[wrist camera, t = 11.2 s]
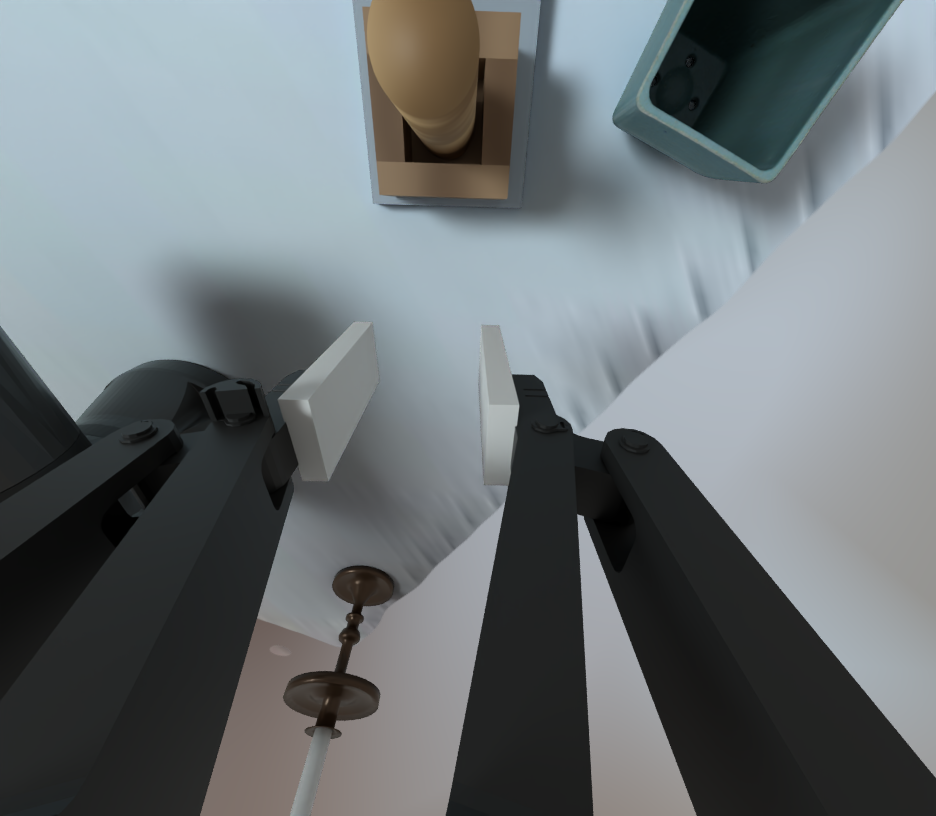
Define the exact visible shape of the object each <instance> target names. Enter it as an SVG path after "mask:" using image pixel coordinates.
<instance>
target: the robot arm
mask: <svg viewBox="0 0 936 816" xmlns="http://www.w3.org/2000/svg"><path fill="white" fill-rule="evenodd" d="M379 381H380V379H379V370H378V362H377V354H376V346H375V337H374V329H373V322H353V323H352V324H351V325H350V327H349V328H348V329H347V330H346V331H345V332H344V333H343V334H342V335H341V336H340V337H339V338H338V339H337V340H336V341H335V342H334V343H333V344H332V345H331V346H330V347H329V348H328V349H327V350H326V351H325V352H324V353H323V354H322V355H321V356H320V357H319V358H318V359H317V360H316V361H315V362H314V363H313V364H312V365H311V366H310V367H309V368H308V369H307V370H299V371H297V372H295V373H293V374H291V375H288V376H286V377H285V378H284V379H283V380H282V381H281V382H280V383H279V385H277V386H276V387H275V388H274V389H273V390H272V392H269V393H268V394H267V395H266V396H265V395H264V392H263V389H262V386H261V384H260V383H259V382H258V381H257V380H253V379H243V378H239V379H232V380H228V379H227V378H225V377H223V376H221V375H220V374H218V373H216V372H214V371H212V370H209V369H207V368H204V367H202V366H199V365H196V364H192V363H188V362H183V361H176V360H156V361H151V362H147V363H144V364H141V365H139V366H137V367H135V368H133V369H131V370H129V371H127V372H125V373H123V374H121V375H119V376H118V377H116V378H115V379H113V380H112V381H111V382H110V383H109V384H108V385H107V386H106V387H105V389H104V391H103V392H102V393H101V394H100V395H99V396H98V397H97V398H96V399H95V400H94V402H93V403H92V404H91V405H90V406H89V407H88V408H87V409H86V410H85V412H84V413H83V414H82V415H81V416H80V417H79V419H78V420H77V421H76V422H74V420H73V419H72V418H71V416H70V415H69V414H68V413H67V411H66V410H65V409H64V407H63V406H62V405H61V404H60V402H59V401H58V400H57V398H56V397H55V396H54V395H53V393H52V392H51V391H50V389H49V388H48V387H47V386H46V384H45V383H44V382H43V380H42V379H41V378H40V377H39V375H38V374H37V373H36V371H35V370H34V369H33V368H32V366H31V365H30V364H29V362H28V361H27V360H26V358H25V357H24V356H23V355H22V353H21V352H20V351H19V349H18V348H17V347H16V346H15V344H14V343H13V342H12V340H11V339H10V338H9V337H8V335H7V334H6V333H5V331H4V330H3V329H2V328H1V326H0V816H200V813H201V810H202V806H203V802H204V799H205V796H206V792H207V789H208V785H209V782H210V778H211V775H212V772H213V768H214V765H215V761H216V758H217V754H218V751H219V747H220V744H221V740H222V737H223V733H224V730H225V727H226V723H227V720H228V716H229V712H230V709H231V706H232V702H233V699H234V695H235V692H236V689H237V685H238V682H239V678H240V674H241V671H242V667H243V664H244V661H245V657H246V654H247V651H248V647H249V644H250V640H251V636H252V633H253V630H254V626H255V623H256V619H257V616H258V613H259V609H260V606H261V602H262V599H263V595H264V592H265V588H266V585H267V581H268V578H269V575H270V571H271V568H272V564H273V561H274V557H275V554H276V550H277V547H278V543H279V540H280V536H281V533H282V530H283V526H284V523H285V519H286V516H287V512H288V509H289V505H290V502H291V498H292V495H293V492H294V485H293V482H292V479H291V475H292V474H293V472H294V471H295V469H296V468H297V466H298V469H299V472H300V475H301V478H302V481H324V482H329V480H330V478H331V476H332V474H333V472H334V470H335V468H336V466H337V464H338V462H339V460H340V458H341V456H342V454H343V452H344V450H345V448H346V446H347V444H348V442H349V440H350V438H351V436H352V434H353V432H354V430H355V429H356V427H357V425H358V423H359V421H360V419H361V417H362V415H363V413H364V411H365V409H366V407H367V405H368V403H369V401H370V399H371V397H372V395H373V393H374V391H375V389H376V387H377V385H378V383H379ZM478 385H479V404H480V423H481V442H482V461H483V481H484V485H508V491H507V496H506V501H505V507H504V512H503V517H502V523H501V528H500V533H499V539H498V544H497V549H496V555H495V560H494V565H493V571H492V576H491V581H490V587H489V592H488V597H487V603H486V608H485V613H484V618H483V624H482V629H481V634H480V639H479V645H478V650H477V655H476V661H475V666H474V671H473V677H472V682H471V687H470V693H469V698H468V703H467V708H466V714H465V719H464V724H463V730H462V735H461V740H460V746H459V751H458V756H457V762H456V767H455V772H454V778H453V783H452V788H451V793H450V798H449V803H448V808H447V812H446V816H593V800H592V781H591V762H590V745H589V725H588V708H587V688H586V670H585V652H584V634H583V633H584V632H583V615H582V596H581V576H580V558H579V539H578V521H577V514H578V515H582V516H584V520H585V523H586V525H587V528H588V530H589V533H590V536H591V538H592V541H593V543H594V546H595V549H596V551H597V554H598V556H599V559H600V562H601V565H602V567H603V570H604V573H605V575H606V578H607V580H608V583H609V586H610V588H611V591H612V594H613V596H614V599H615V601H616V604H617V607H618V609H619V612H620V614H621V617H622V620H623V623H624V625H625V628H626V630H627V633H628V636H629V638H630V641H631V643H632V646H633V649H634V652H635V654H636V657H637V659H638V662H639V665H640V667H641V670H642V673H643V675H644V678H645V680H646V683H647V686H648V688H649V691H650V694H651V696H652V699H653V701H654V704H655V707H656V709H657V712H658V715H659V717H660V720H661V723H662V725H663V728H664V730H665V733H666V736H667V738H668V741H669V744H670V746H671V749H672V751H673V754H674V757H675V759H676V762H677V765H678V767H679V770H680V773H681V775H682V778H683V780H684V783H685V786H686V788H687V791H688V793H689V796H690V799H691V801H692V804H693V807H694V809H695V812H696V815H697V816H936V778H935V777H934V775H933V774H932V773H931V772H930V771H929V769H928V768H927V767H926V766H925V764H924V763H923V762H922V761H921V760H920V758H919V757H918V756H917V755H916V754H915V752H914V751H913V750H912V749H911V747H910V746H909V745H908V744H907V743H906V741H905V740H904V739H903V738H902V737H901V735H900V734H899V733H898V732H897V730H896V729H895V728H894V727H893V726H892V724H891V723H890V722H889V721H888V720H887V718H886V717H885V716H884V715H883V713H882V712H881V711H880V710H879V709H878V707H877V706H876V705H875V704H874V702H873V701H872V700H871V699H870V698H869V696H868V695H867V694H866V693H865V691H864V690H863V689H862V688H861V687H860V685H859V684H858V683H857V682H856V681H855V679H854V678H853V677H852V676H851V674H849V672H848V671H847V670H846V668H845V667H844V666H843V665H842V664H841V662H840V661H839V660H838V659H837V657H836V656H835V655H834V654H833V653H832V651H831V650H830V649H829V648H828V647H827V645H826V644H825V643H824V642H823V640H822V639H821V638H820V637H819V636H818V634H817V633H816V632H815V631H814V629H813V628H812V627H811V626H810V625H809V623H808V622H807V621H806V620H805V619H804V617H803V616H802V615H801V614H800V612H799V611H798V610H797V609H796V608H795V606H794V605H793V604H792V603H791V601H790V600H789V599H788V598H787V597H786V595H785V594H784V593H783V592H782V591H781V589H780V588H779V587H778V586H777V584H775V582H774V581H773V580H772V578H771V577H770V576H769V575H768V573H767V572H766V571H765V570H764V569H763V567H762V566H761V565H760V564H759V562H757V560H756V559H755V558H754V557H753V555H752V554H751V553H750V552H749V551H748V549H747V548H746V547H745V545H744V544H743V543H742V542H741V541H740V539H739V538H738V537H737V536H736V534H735V533H734V532H733V531H732V530H731V529H730V527H729V526H728V525H727V524H726V523H725V521H724V520H723V519H722V517H721V516H720V515H719V514H718V513H717V511H716V510H715V509H714V508H713V507H712V505H711V504H710V503H709V502H708V500H707V499H706V498H705V497H704V496H703V494H702V493H701V492H700V491H699V489H698V488H697V487H696V486H695V485H694V483H693V482H692V481H691V480H690V479H689V477H688V476H687V475H686V474H685V472H684V471H683V470H682V469H681V468H680V466H679V465H678V464H677V463H676V461H675V460H674V459H673V458H672V457H671V455H670V454H669V453H668V452H667V451H666V449H665V448H664V447H663V446H662V445H661V444H660V443H659V442H658V441H657V440H656V439H655V438H653V437H651V436H649V435H647V434H646V433H644V432H641V431H638V430H634V429H624V428H621V429H614V430H612V431H610V432H608V433H607V435H606V437H605V440H604V442H603V441H599V440H594V439H589V438H585V437H581V436H578V435H576V434H574V433H573V429H572V427H571V424H570V423H569V422H567V421H566V420H565V419H564V418H562V417H559V416H557V415H556V413H555V411H554V408H553V406H552V403H551V401H550V398H549V397H548V394H547V391H546V389H545V386H544V384H543V382H542V381H541V380H540V379H538V378H537V377H536V376H535V375H514V374H511V370H510V366H509V362H508V358H507V354H506V350H505V346H504V342H503V338H502V334H501V330H500V326H499V325H481V340H480V361H479V382H478Z"/></svg>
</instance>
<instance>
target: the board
mask: <svg viewBox="0 0 936 816" xmlns="http://www.w3.org/2000/svg"><path fill="white" fill-rule="evenodd" d="M471 1H472V4H473V6H474V9H475V11H496V12H521V23H520V36H519V50H518V63H517V77H516V90H515V104H514V117H513V131H512V144H511V158H510V171H509V185H508V198H507V199H504V200H490V199H459V198H427V197H395V196H384V195H379V185H378V174H377V163H376V152H375V141H374V130H373V119H372V108H371V97H370V87H369V76H368V65H367V54H366V43H365V32H364V21H363V10H362V6H363V7H370V6H371V2H372V0H353V10H354V19H355V29H356V39H357V49H358V59H359V69H360V79H361V89H362V99H363V109H364V119H365V129H366V138H367V148H368V158H369V168H370V178H371V188H372V198H373V204H398V205H430V206H462V207H494V208H521V207H522V197H523V186H524V175H525V164H526V154H527V143H528V132H529V122H530V111H531V100H532V89H533V79H534V68H535V57H536V46H537V36H538V25H539V14H540V4H541V0H471Z"/></svg>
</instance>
